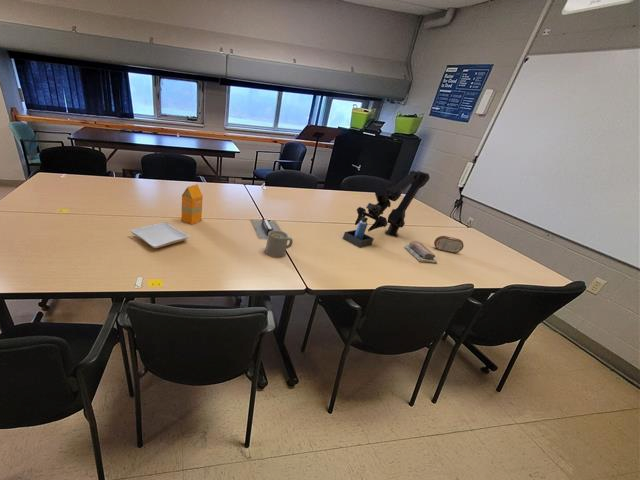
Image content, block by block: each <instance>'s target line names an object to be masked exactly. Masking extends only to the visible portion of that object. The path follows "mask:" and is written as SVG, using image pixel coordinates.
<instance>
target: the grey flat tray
mask: <svg viewBox="0 0 640 480" xmlns="http://www.w3.org/2000/svg"><path fill="white" fill-rule="evenodd" d="M251 222H252V225H253V227H254V229H255V231H256V234H257V236H258V238H259V239H267V238H268V233H269V232H270V231H272V230H278V231H281V230H280V228H279V227H278V225H277V223H276V222H275V221H269V220H268V219H262V220H251Z"/></svg>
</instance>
